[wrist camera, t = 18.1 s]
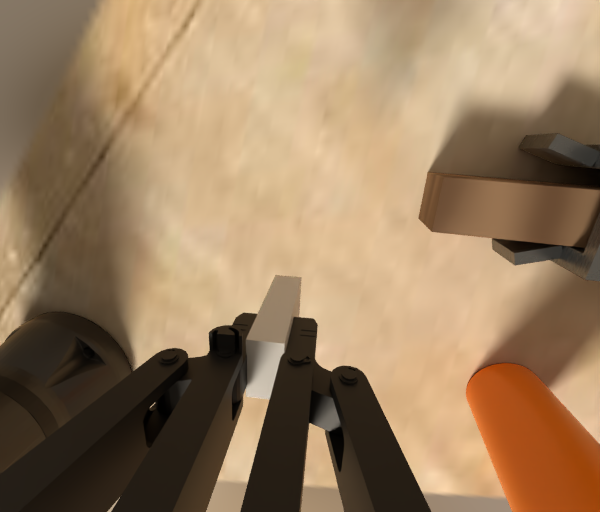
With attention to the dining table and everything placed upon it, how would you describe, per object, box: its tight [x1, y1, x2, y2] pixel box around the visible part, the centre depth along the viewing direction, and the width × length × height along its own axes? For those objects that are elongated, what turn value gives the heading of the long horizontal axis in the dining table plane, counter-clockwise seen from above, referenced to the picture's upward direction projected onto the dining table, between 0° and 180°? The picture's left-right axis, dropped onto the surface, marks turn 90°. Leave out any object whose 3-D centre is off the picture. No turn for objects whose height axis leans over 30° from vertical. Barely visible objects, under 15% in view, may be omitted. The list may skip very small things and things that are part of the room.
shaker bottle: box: [466, 363, 600, 512], centre depth 23 cm, size 9×9×20 cm
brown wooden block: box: [419, 172, 600, 248], centre depth 25 cm, size 14×4×5 cm, turn 86°
